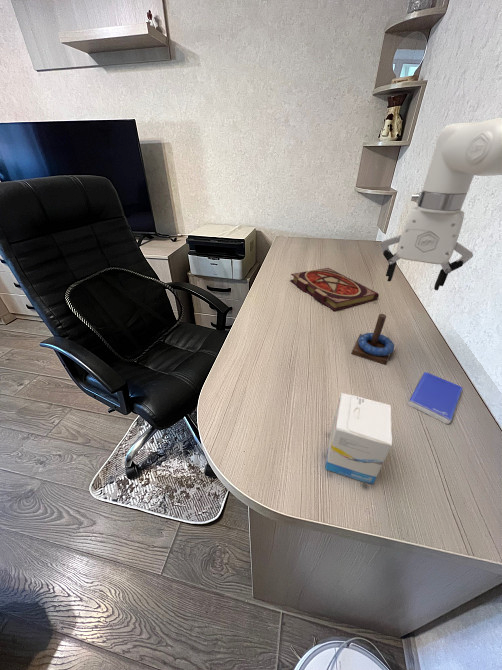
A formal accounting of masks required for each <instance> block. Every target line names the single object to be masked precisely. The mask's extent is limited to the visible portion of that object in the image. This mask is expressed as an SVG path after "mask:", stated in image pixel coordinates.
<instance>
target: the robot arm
mask: <svg viewBox="0 0 502 670" xmlns="http://www.w3.org/2000/svg"><path fill="white" fill-rule="evenodd" d="M438 134H439V135H438V137H437V140H436V143H435V146H434V150H433V153H432V157H431V160H430V164H429V167H428V170H427V173H426V176H425V179H424V183H423V185H422V189H421V191H419V192H418V193H412V196H411V198H410V201H411V202H414V203H416V204H417V205H416V206H413V207H411V208H412V209H411V210H410V212H409V213H408V216H407V219H406V221H405V224H404V226H403V228H402V232H401V234H400V235H399V234H398V235H397V236H393V237H391V238H387V239H384V240H382V241H381V243H380V246H381V250H382V255H383V256H384V258H385V259H386V261H387V263H388V265H387V269H386V274H385V277H388V278H387V281H386V282H391V281H392V279H393V277H394V274H395V271H396V266H397V261H399V260H407V261H411V262H420V263H424V264H431V265H432V264H433V265H440V266H441V269H440V271H439V273H438V276H437V278H436V280H435V283H434V287H433V289H434V290H435V291H436V292H437V291H439V288H440V287H444V285H445V283H446V280H447V278H448V275H449V274H451V273H452V272H454V271H455V270H456V271H457V270H458V269H459V268H462V267H463V266H464V264H466V263H467V262H468V261H470V260H471V259H472V258H473V257H474V253H473V252H472V251H471V250H469V249H468V248H467V247H466V246H464V245H462V244H461V243H459V241H458V239H459V236H460V233H461V230H462V227H463V222H464V218H465V211H464V210H462V208H463V205H464V203H465V200H466V197H467V195H468V192H469V190H470V187H471V184H472V181H473V179H474V177H475V176H477V177H489V176H491V177H492V176H502V116H501V117H500V116H499V117H494V118H490V119H486V120H483V121H469V122H468V121H467V122H454V123H450V124H447V125H446V126H444V127H443V128H442V129H441V130H440V132H439V133H438ZM395 244H397V247H396V251H395V253H394V254H393V253H392V251H391V250H390V246H392V245H395ZM454 251H455V252H457V254H459V255H461V256H460V257H459V258H458V259H456V260H454V261H452V262H450V261H451V258H452V256H453V253H454Z"/></svg>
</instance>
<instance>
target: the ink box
mask: <svg viewBox="0 0 502 670" xmlns="http://www.w3.org/2000/svg"><path fill="white" fill-rule="evenodd" d="M328 438H329V439H328V445H327V451H326V452H327V453H326V461H325V465H324V466H325V467H324V469H325V471H329V472H332V473H335V474H338V475H341V476H344V477H346V478H347V477H348V478H350V479H353V480H356V481H359V482H363V483H366V484H370V485H374V484H375V481H376V479H377V478H378V477H377V476H378V475H379V473H380V471H381V469H382V467H383V465H384V462H385V461H386V459H387V456H388V454H389V452H390V451H391V449H392V446H393V429H392V405H390V404H388V403H384V402H381V401H377V400H374V399H369V398H366V397H361V396H358V395H354V394H350V393H345V392H340V396H339V399H338V402H337V406H336V410H335V414H334V417H333V420H332V424H331V428H330V431H329V437H328Z"/></svg>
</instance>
